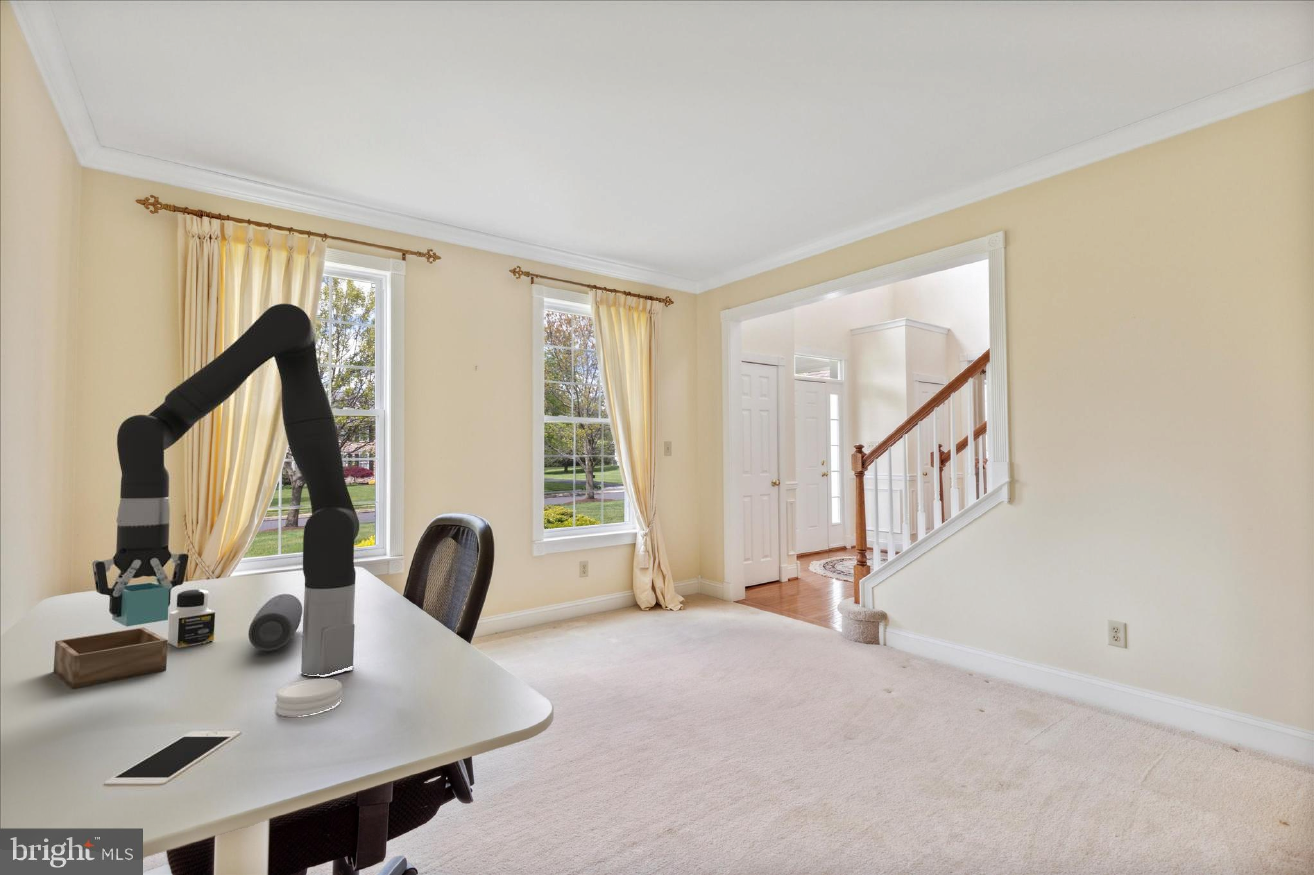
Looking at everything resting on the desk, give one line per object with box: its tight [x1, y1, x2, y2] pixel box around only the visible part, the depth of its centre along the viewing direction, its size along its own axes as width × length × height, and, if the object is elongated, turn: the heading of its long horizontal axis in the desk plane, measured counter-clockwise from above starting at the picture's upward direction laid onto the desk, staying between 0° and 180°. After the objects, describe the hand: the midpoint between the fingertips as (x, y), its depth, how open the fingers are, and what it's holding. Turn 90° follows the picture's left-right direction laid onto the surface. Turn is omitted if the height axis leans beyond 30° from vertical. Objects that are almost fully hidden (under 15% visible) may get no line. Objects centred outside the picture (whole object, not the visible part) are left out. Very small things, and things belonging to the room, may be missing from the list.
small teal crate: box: [111, 581, 170, 627], centre depth 115 cm, size 9×6×6 cm, turn 53°
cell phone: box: [103, 730, 242, 786], centre depth 88 cm, size 8×16×1 cm, turn 2°
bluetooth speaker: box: [247, 593, 303, 652], centre depth 145 cm, size 23×9×10 cm, turn 25°
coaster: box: [275, 678, 343, 718], centre depth 107 cm, size 10×10×4 cm
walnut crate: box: [53, 626, 169, 690], centre depth 124 cm, size 16×14×6 cm
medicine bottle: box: [167, 588, 216, 649], centre depth 145 cm, size 7×7×12 cm
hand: (140, 612), depth 115 cm, fingers closed on small teal crate, 6 cm apart
